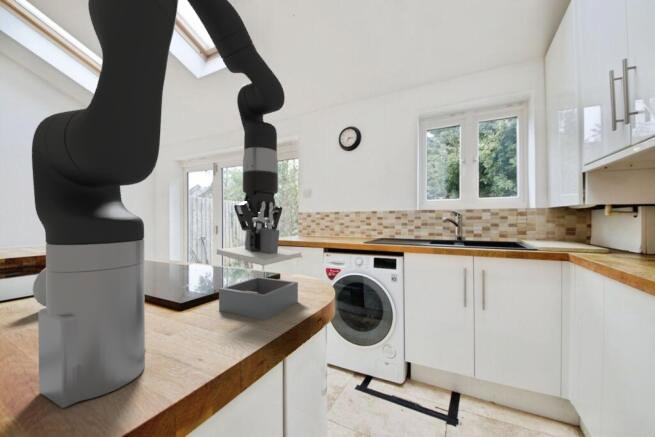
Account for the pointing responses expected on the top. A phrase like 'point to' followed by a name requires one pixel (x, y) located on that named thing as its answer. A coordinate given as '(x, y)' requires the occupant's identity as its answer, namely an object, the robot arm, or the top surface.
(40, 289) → the donut
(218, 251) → the lid
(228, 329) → the top surface
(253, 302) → the box
